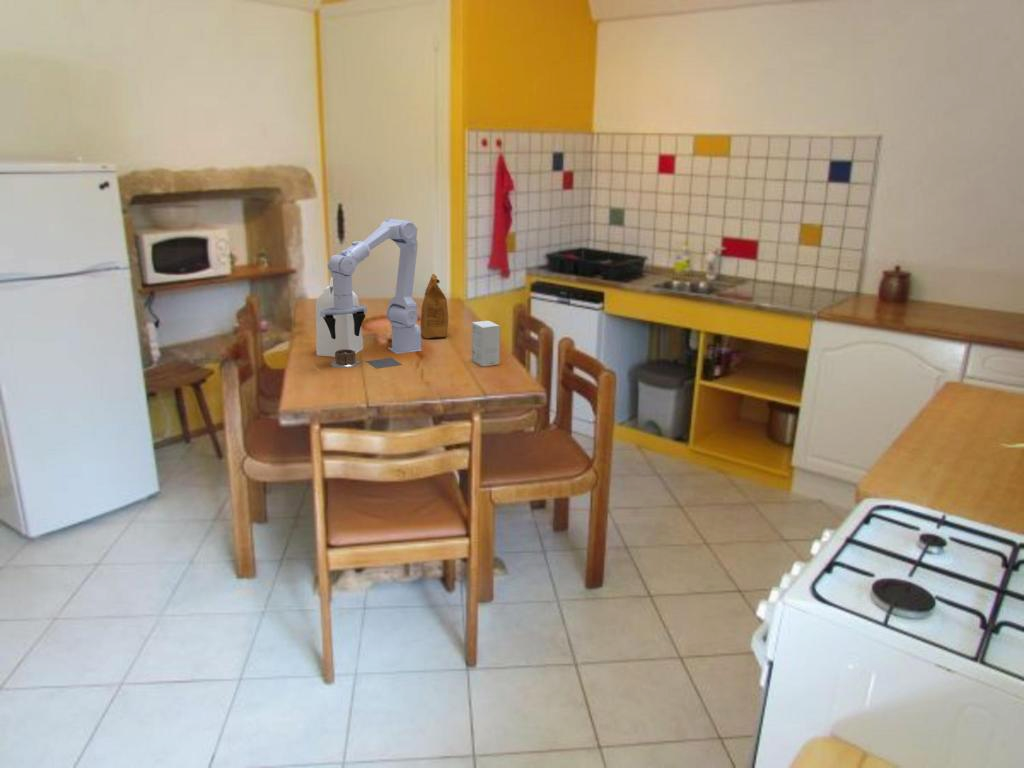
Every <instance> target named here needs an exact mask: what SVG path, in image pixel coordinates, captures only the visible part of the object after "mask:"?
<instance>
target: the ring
mask: <svg viewBox="0 0 1024 768" xmlns="http://www.w3.org/2000/svg"><path fill="white" fill-rule="evenodd" d="M342 352H348V353H349V354H341V353H342ZM334 358H335V359H334V360H335V361H336V364H338V365H352V364H354V363H355V359H356V354H355V351H353V350H347V349H344V350H338V351H336V352H335V357H334Z"/></svg>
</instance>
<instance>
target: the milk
mask: <svg viewBox="0 0 1024 768" xmlns="http://www.w3.org/2000/svg"><path fill="white" fill-rule="evenodd" d="M352 295H353V306H360V300H359V297H358V295H357V294H356V293H355V291H354V290H352ZM329 308H334V294H333V278H332V277H330V280H329V285H328V286H326V288H324V290H323V292H322V294H321V295H320V296H318V297H317V299H316V300H315V336H316V337H315V339H316V342H315V343H316V347H315V348H316V351H315V352H316V356H319V357H321V356H323V357H333V358H335V352H336V351H338V350H344V349H347V350H353V351H355V355H357V353H359V352H360V351H362V350H363V349H364V343H363V341H364V339H363V330H362V327H361V328H360V332H359V336H356V335H355V334H354V320H353V314H343V315H334V316H333V317H334V319H336V321H335V334H336V339H332V338H331V334H330V331H329V328H328V326H327V324H326V322H325V320H324V319H323V317H321V316H320V310H323V309H329Z"/></svg>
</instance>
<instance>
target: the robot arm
mask: <svg viewBox="0 0 1024 768" xmlns="http://www.w3.org/2000/svg"><path fill="white" fill-rule="evenodd" d="M417 236H418V227H417V226H416V224H415V222H413V221H412V220H404V219H397V218H396V219H395V218H393V217H391V218H390V217H388V218H387V219H386V220H384V221H382V222H381V223H380V226H379V227H378V228H377V229H376V230H374V232H372V233H371V234H370V235H369V236H367V238H365V239H364V240H363V241H362V240H357V241H355V240H354V241H353V242H351V245H350V246H349V247H347V248H346V249H343V250H341V253H339V254H338V253H337V254H334V255H332V256H331V258H330V259H329V261H328V264H327V269H328V270H329V272H330V275H331V278H333V294H334V308H329V309H323V310H320V316H321V317H323V319H324V320H325V322H326V324H327V326H328V328H329V331H330V334H331V338H332V339H336V334H335V321H336V319H334V317H333V316H334V315H343V314H353V320H354V334H355V335H356V336H359V332H360V328H361V329H362V325H363V321H364V320H365V318H366V314H365V313H368V306H367V305H365V304H363V305H359V306H353V295H352V291H353V281H352V280H353V279H352V277H353V274H354V272H355V270H356V267H357V266H358V265H360V264H361V262H363V261H364V260H366V259H367V258H368V257H369V256H370V253H371V250H373V249H374V248H376V247H377V246H379V245H380V244H382V243H383V242H385V241H387V240H388V239H389V240H391V241H392V242H394V243H395V244H396V245H397V247H398V248H399V258H398V267H397V277H396V278H397V279H396V287H395V295H394V297H392V298H391V299H390V300H389V304H388V308H387V310H386V314H385V315H386V318H387V321H388V322H390V323H389V324H390V325H391V347H388V348H387V349H388V350H389V351H391V352H393V353H395V354H397V355H398V354H404V353H405V354H406V353H412V352H418V351H419V352H420V351H423V349H422V333H421V326H420V325H418V324H417V321H418V317H419V314H418V309H417V308H418V305H417V303H416V302H415V300H414V298H413V292H414V291H413V289H414V281H415V280H414V279H415V272H416V263H417V255H418V240H417Z"/></svg>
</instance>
